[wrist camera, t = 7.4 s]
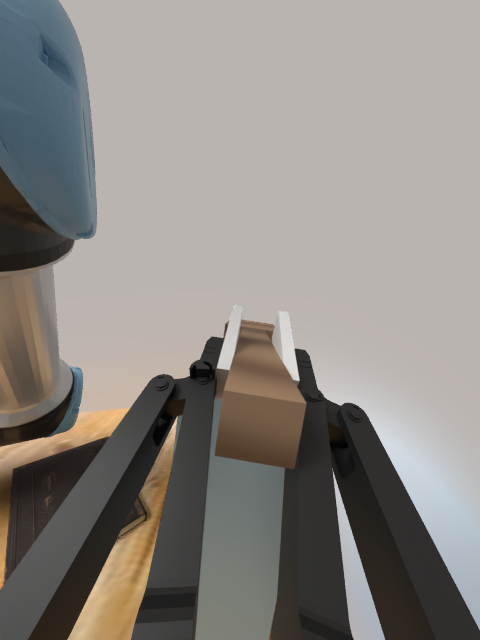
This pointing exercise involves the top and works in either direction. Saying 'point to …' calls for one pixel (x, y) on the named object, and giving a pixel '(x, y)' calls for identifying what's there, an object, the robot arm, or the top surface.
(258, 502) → the stand
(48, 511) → the hardcover book
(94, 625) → the top surface
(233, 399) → the brown tapered block
